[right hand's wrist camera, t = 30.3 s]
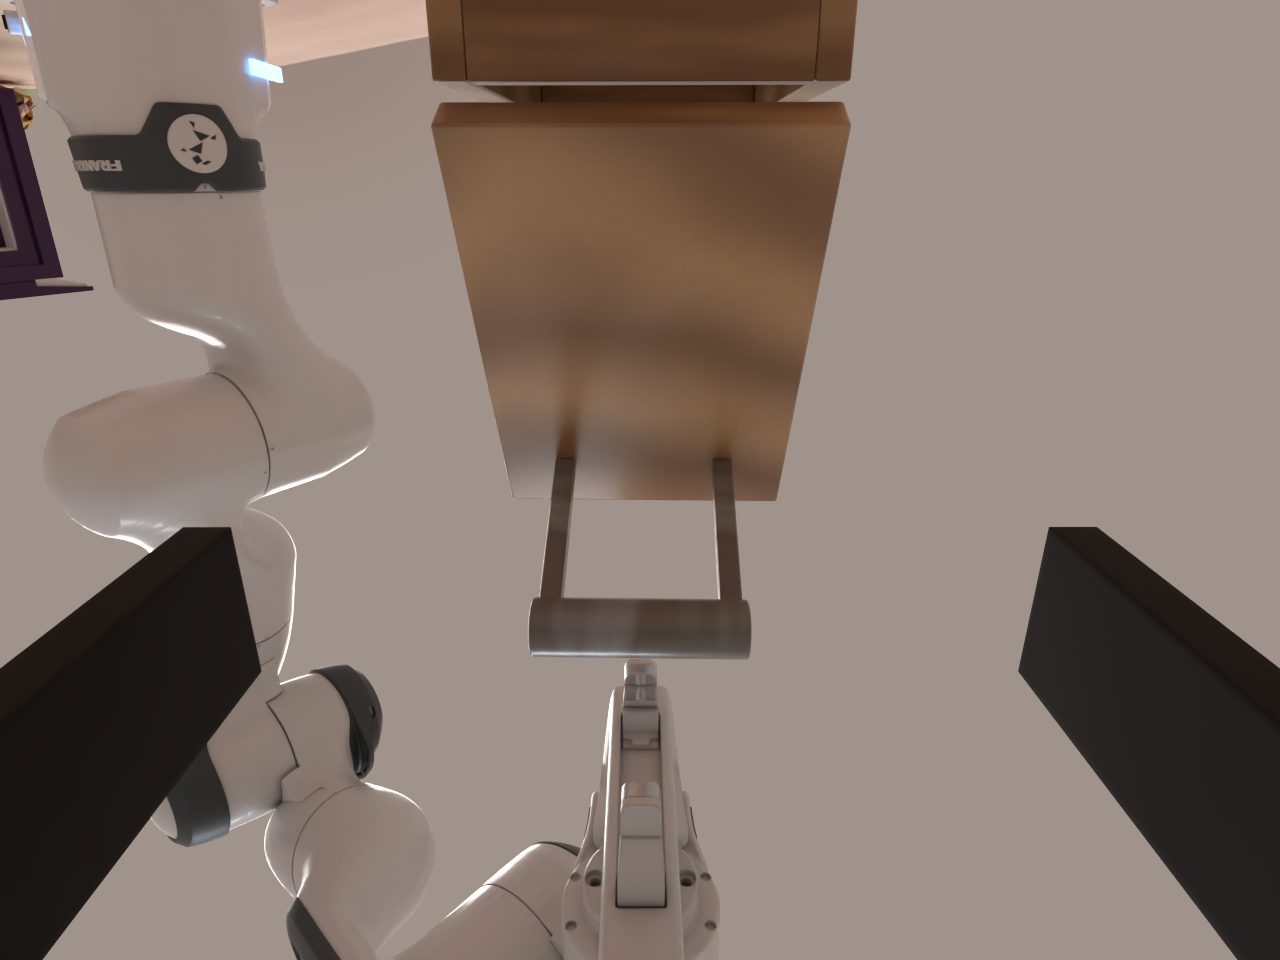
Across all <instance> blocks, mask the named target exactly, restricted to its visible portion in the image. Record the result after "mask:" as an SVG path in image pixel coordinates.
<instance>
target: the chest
mask: <svg viewBox="0 0 1280 960" xmlns="http://www.w3.org/2000/svg"><path fill="white" fill-rule="evenodd" d="M857 1H858V0H426V11H427V22H428V34H429V45H430V56H431V67H432V78H433V80H434V81H435V82H437V83H439V84H442V85H444V86H447V87H449V88H452V89H454V90H456V91H459V92H461V93H464V94H466V95H469V96H471V97H474V98H476V99H478V100H481V101H483V102H806V101H808V100H810V99H812V98H814V97H816V96H818V95H820V94H822V93H824V92H826V91H828V90H831V89H833V88H835V87H837V86H839V85H841V84H843V83H845V82H847V81H849V80H850V78H851V69H852V57H853V46H854V35H855V24H856V12H857Z"/></svg>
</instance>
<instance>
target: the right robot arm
mask: <svg viewBox="0 0 1280 960" xmlns="http://www.w3.org/2000/svg"><path fill="white" fill-rule="evenodd" d="M1018 671H1019V673H1020V674H1021V676H1022V677H1023V678H1024V680H1025V681H1026V682H1027V683H1028V685H1029V686H1030V687H1031V689H1032V690H1033V691H1034V693H1035V694H1036V695H1037V697H1038V698H1039V699H1040V701H1041V702H1042V703H1043V704H1044V706H1045V707H1046V708H1047V710H1048V711H1049V712H1050V714H1051V715H1052V716H1053V718H1054V719H1055V720H1056V722H1057V723H1058V724H1059V725H1060V727H1061V728H1062V729H1063V731H1064V732H1065V733H1066V735H1067V736H1068V737H1069V739H1070V740H1071V741H1072V743H1073V744H1074V745H1075V747H1076V748H1077V749H1078V751H1079V752H1080V753H1081V755H1082V756H1083V757H1084V758H1085V760H1086V761H1087V762H1088V764H1089V765H1090V766H1091V768H1092V769H1093V770H1094V771H1095V773H1096V774H1097V776H1098V777H1099V778H1100V779H1101V781H1102V782H1103V783H1104V785H1105V786H1106V787H1107V789H1108V790H1109V791H1110V793H1111V794H1112V795H1113V797H1114V798H1115V799H1116V801H1117V802H1118V803H1119V804H1120V806H1121V807H1122V808H1123V810H1124V811H1125V812H1126V814H1127V815H1128V816H1129V818H1130V819H1131V820H1132V822H1133V823H1134V824H1135V825H1136V827H1137V828H1138V829H1139V831H1140V832H1141V833H1142V835H1143V836H1144V837H1145V839H1146V840H1147V841H1148V843H1149V844H1150V845H1151V846H1152V848H1153V849H1154V850H1155V852H1156V853H1157V854H1158V856H1159V857H1160V858H1161V860H1162V861H1163V862H1164V864H1165V865H1166V866H1167V868H1168V869H1169V870H1170V872H1171V873H1172V874H1173V875H1174V877H1175V878H1176V879H1177V881H1178V882H1179V883H1180V885H1181V886H1182V887H1183V889H1184V890H1185V891H1186V892H1187V894H1188V895H1189V897H1190V898H1191V899H1192V900H1193V902H1194V903H1195V904H1196V906H1197V907H1198V908H1199V910H1200V911H1201V912H1202V914H1203V915H1204V916H1205V918H1206V919H1207V920H1208V921H1209V923H1210V924H1211V925H1212V927H1213V928H1214V929H1215V931H1216V932H1217V933H1218V935H1219V936H1220V937H1221V939H1222V940H1223V941H1224V943H1225V944H1226V945H1227V946H1228V948H1229V949H1230V950H1231V952H1232V953H1233V954H1234V956H1235V957H1236V958H1237V960H1280V668H1278V667H1277V666H1276V665H1275V664H1273V663H1272V662H1271V661H1269V660H1268V659H1267V658H1266V657H1264V656H1263V655H1262V654H1260V653H1259V652H1258V651H1256V650H1255V649H1254V648H1253V647H1251V646H1250V645H1249V644H1247V643H1246V642H1245V641H1244V640H1242V639H1241V638H1240V637H1238V636H1237V635H1236V634H1234V633H1233V632H1232V631H1230V630H1229V629H1228V628H1227V627H1225V626H1224V625H1223V624H1221V623H1220V622H1219V621H1218V620H1216V619H1215V618H1214V617H1212V616H1211V615H1210V614H1209V613H1207V612H1206V611H1205V610H1203V609H1202V608H1201V607H1200V606H1198V605H1197V604H1196V603H1194V602H1193V601H1192V600H1190V599H1189V598H1188V597H1187V596H1185V595H1184V594H1183V593H1181V592H1180V591H1179V590H1178V589H1176V588H1175V587H1174V586H1172V585H1171V584H1170V583H1168V582H1167V581H1166V580H1165V579H1163V578H1162V577H1161V576H1159V575H1158V574H1157V573H1156V572H1154V571H1153V570H1152V569H1150V568H1149V567H1148V566H1146V565H1145V564H1144V563H1143V562H1141V561H1140V560H1139V559H1137V558H1136V557H1135V556H1134V555H1132V554H1131V553H1130V552H1128V551H1127V550H1126V549H1124V548H1123V547H1122V546H1121V545H1119V544H1118V543H1117V542H1115V541H1114V540H1113V539H1112V538H1110V537H1109V536H1108V535H1106V534H1105V533H1104V532H1102V531H1101V530H1100V529H1099V528H1097V527H1049V530H1048V535H1047V539H1046V544H1045V548H1044V553H1043V558H1042V563H1041V567H1040V572H1039V576H1038V581H1037V586H1036V591H1035V595H1034V600H1033V605H1032V609H1031V614H1030V619H1029V624H1028V628H1027V633H1026V637H1025V642H1024V647H1023V651H1022V656H1021V661H1020V665H1019V670H1018ZM261 672H262V670H261V665H260V661H259V656H258V651H257V647H256V642H255V637H254V633H253V628H252V623H251V619H250V614H249V609H248V605H247V600H246V595H245V591H244V586H243V581H242V576H241V572H240V567H239V562H238V558H237V553H236V548H235V544H234V539H233V534H232V530H231V527H183V528H181V529H180V530H179V531H177V532H176V533H175V534H174V535H172V536H171V537H170V538H168V539H167V540H166V541H165V542H163V543H162V544H161V545H159V546H158V547H157V548H156V549H154V550H153V551H152V552H150V553H149V554H148V555H146V556H145V557H144V558H143V559H141V560H140V561H139V562H137V563H136V564H135V565H134V566H132V567H131V568H130V569H128V570H127V571H126V572H124V573H123V574H122V575H121V576H119V577H118V578H117V579H115V580H114V581H113V582H112V583H110V584H109V585H108V586H106V587H105V588H104V589H102V590H101V591H100V592H99V593H97V594H96V595H95V596H93V597H92V598H91V599H90V600H88V601H87V602H86V603H84V604H83V605H82V606H80V607H79V608H78V609H77V610H75V611H74V612H73V613H72V614H70V615H69V616H68V617H66V618H65V619H64V620H62V621H61V622H60V623H58V624H57V625H56V626H55V627H53V628H52V629H51V630H49V631H48V632H47V633H46V634H44V635H43V636H42V637H40V638H39V639H38V640H36V641H35V642H34V643H33V644H31V645H30V646H29V647H27V648H26V649H25V650H24V651H22V652H21V653H20V654H18V655H17V656H16V657H14V658H13V659H12V660H11V661H9V662H8V663H7V664H6V665H4V666H3V667H2V668H0V960H43V958H44V957H45V956H46V954H47V953H48V952H49V950H50V949H51V948H52V946H53V945H54V944H55V942H56V941H57V940H58V939H59V937H60V936H61V935H62V933H63V932H64V931H65V929H66V928H67V927H68V925H69V924H70V923H71V921H72V920H73V919H74V918H75V916H76V915H77V914H78V912H79V911H80V910H81V908H82V907H83V906H84V904H85V903H86V902H87V900H88V899H89V898H90V897H91V895H92V894H93V893H94V891H95V890H96V889H97V887H98V886H99V885H100V883H101V882H102V881H103V879H104V878H105V877H106V875H107V874H108V873H109V872H110V870H111V869H112V868H113V866H114V865H115V864H116V862H117V861H118V860H119V858H120V857H121V856H122V854H123V853H124V852H125V850H126V849H127V848H128V846H129V845H130V844H131V843H132V841H133V840H134V839H135V837H136V836H137V835H138V833H139V832H140V831H141V829H142V828H143V827H144V826H145V824H146V823H147V821H148V820H149V819H150V818H151V816H152V815H153V814H154V812H155V811H156V810H157V808H158V807H159V806H160V804H161V803H162V802H163V801H164V799H165V798H166V797H167V795H168V794H169V793H170V791H171V790H172V789H173V787H174V786H175V785H176V783H177V782H178V781H179V779H180V778H181V777H182V776H183V774H184V773H185V772H186V770H187V769H188V768H189V766H190V765H191V764H192V762H193V761H194V760H195V758H196V757H197V756H198V755H199V753H200V752H201V751H202V749H203V748H204V747H205V745H206V744H207V743H208V741H209V740H210V739H211V737H212V736H213V735H214V733H215V732H216V731H217V730H218V728H219V727H220V726H221V724H222V723H223V722H224V720H225V719H226V718H227V716H228V715H229V714H230V712H231V711H232V710H233V708H234V707H235V706H236V705H237V703H238V702H239V701H240V699H241V698H242V697H243V695H244V694H245V693H246V691H247V690H248V689H249V687H250V686H251V685H252V683H253V682H254V681H255V680H256V678H257V677H258V676H259V674H260V673H261Z"/></svg>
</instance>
